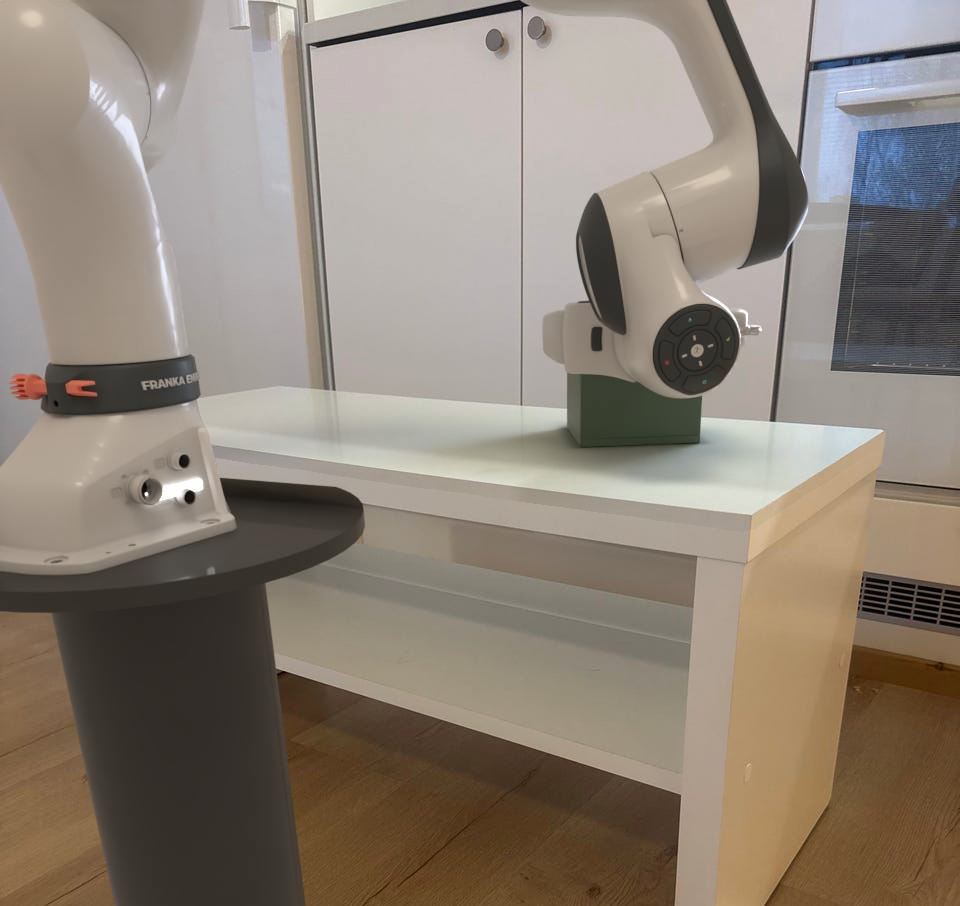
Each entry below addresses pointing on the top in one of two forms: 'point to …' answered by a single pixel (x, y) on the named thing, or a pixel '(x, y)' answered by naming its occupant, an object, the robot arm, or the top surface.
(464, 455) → the top surface
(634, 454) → the top surface
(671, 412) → the storage box
